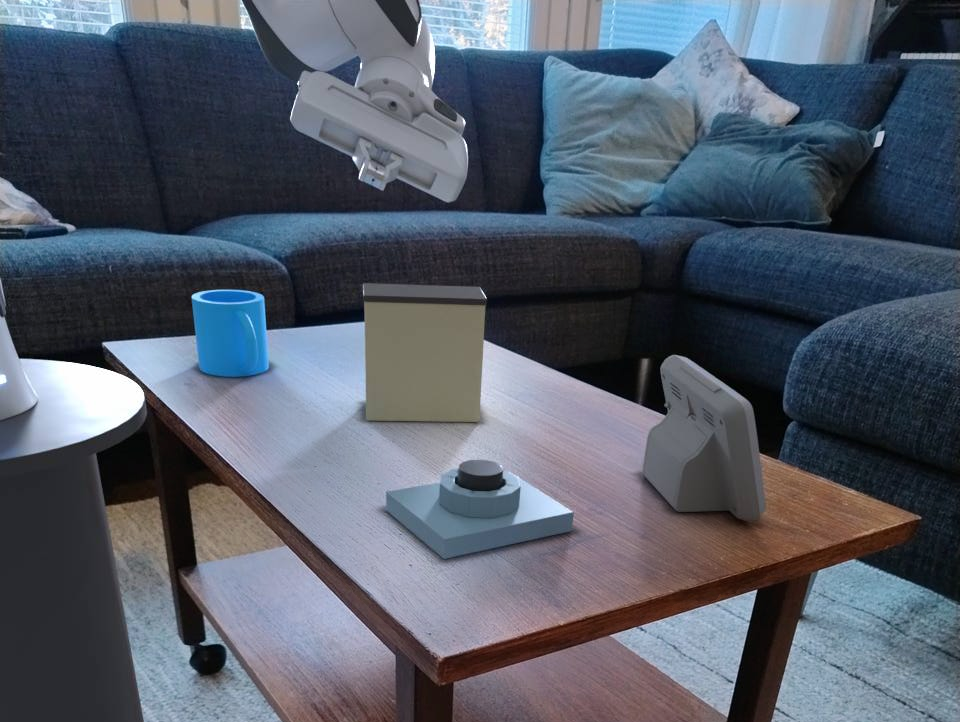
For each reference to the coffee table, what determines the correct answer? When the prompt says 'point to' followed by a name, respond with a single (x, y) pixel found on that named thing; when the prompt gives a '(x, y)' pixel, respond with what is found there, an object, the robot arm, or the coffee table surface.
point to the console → (423, 352)
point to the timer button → (480, 475)
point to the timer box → (477, 514)
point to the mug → (230, 332)
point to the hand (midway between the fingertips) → (373, 180)
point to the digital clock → (705, 445)
